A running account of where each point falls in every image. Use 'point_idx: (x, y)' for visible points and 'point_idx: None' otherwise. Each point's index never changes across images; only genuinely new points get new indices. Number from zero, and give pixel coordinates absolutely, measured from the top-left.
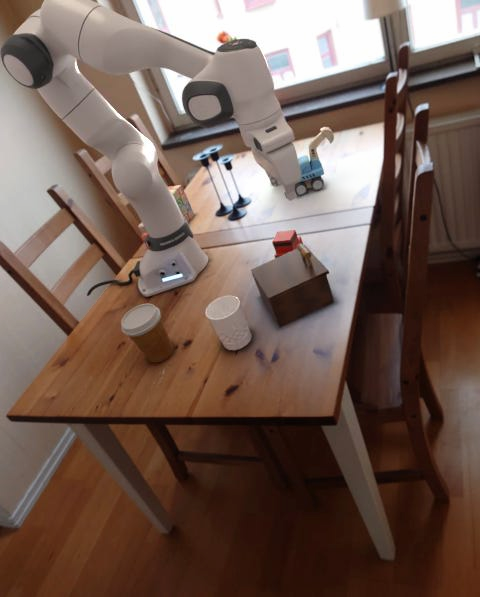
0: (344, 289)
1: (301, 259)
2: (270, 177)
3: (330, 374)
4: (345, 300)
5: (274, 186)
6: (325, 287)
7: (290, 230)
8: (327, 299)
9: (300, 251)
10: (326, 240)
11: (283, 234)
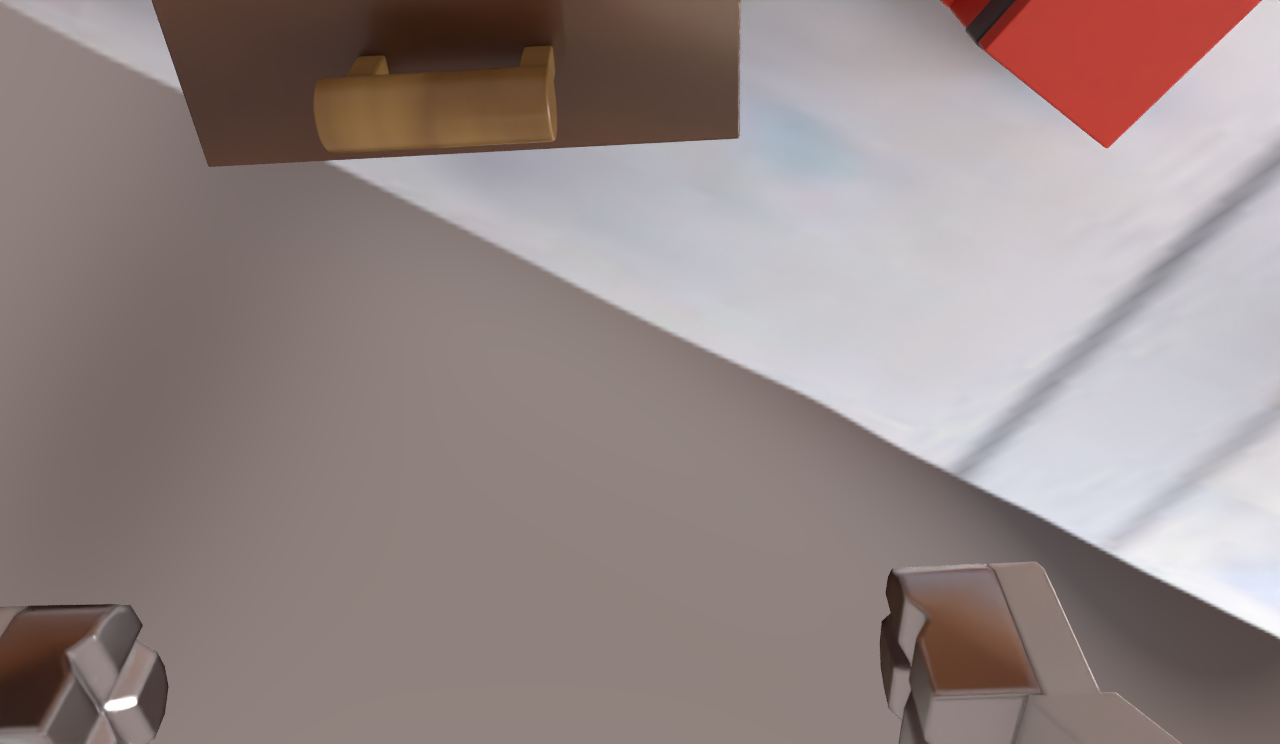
0: None
1: (520, 30)
2: (1049, 739)
3: None
4: None
5: (894, 576)
6: None
7: (1147, 109)
8: None
9: (429, 80)
10: (1029, 249)
11: (1153, 25)
